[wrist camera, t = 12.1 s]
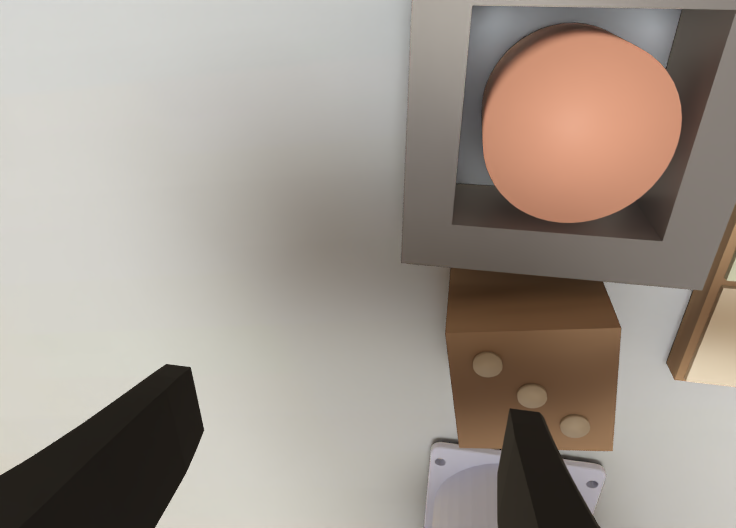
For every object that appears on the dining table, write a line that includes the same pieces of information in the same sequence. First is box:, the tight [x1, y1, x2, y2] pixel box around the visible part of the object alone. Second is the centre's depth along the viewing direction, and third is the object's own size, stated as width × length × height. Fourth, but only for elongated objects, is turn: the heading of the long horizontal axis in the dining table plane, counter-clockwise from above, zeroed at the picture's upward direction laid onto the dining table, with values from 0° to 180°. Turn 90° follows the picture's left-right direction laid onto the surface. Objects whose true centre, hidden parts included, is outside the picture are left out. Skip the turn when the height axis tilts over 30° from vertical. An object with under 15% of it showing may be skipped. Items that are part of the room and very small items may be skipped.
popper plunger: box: [482, 23, 682, 223], centre depth 15 cm, size 5×5×4 cm
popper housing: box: [401, 0, 736, 290], centre depth 16 cm, size 9×9×4 cm
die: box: [445, 268, 621, 451], centre depth 19 cm, size 5×5×5 cm
